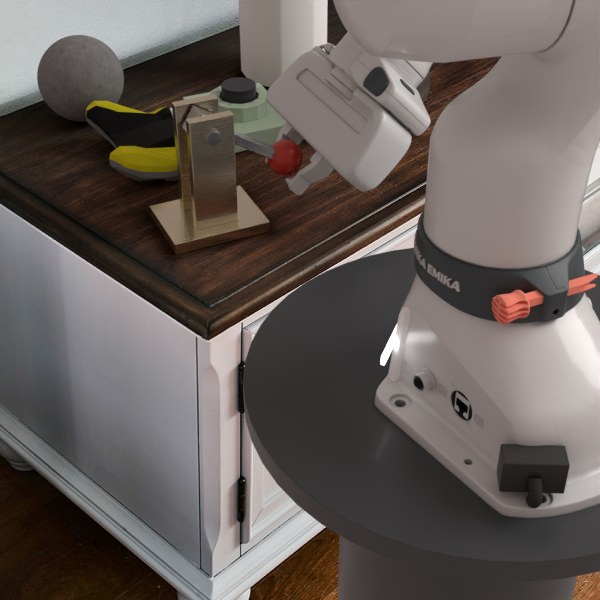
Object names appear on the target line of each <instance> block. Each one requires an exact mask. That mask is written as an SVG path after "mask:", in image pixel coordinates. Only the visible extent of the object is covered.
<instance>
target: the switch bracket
mask: <svg viewBox="0 0 600 600" xmlns="http://www.w3.org/2000/svg"><path fill="white" fill-rule="evenodd" d="M193 105H194V106H196V107H199V108H201V109H204V110H206V111H209V112H211V113H214V114H210V115H205V116H200V117H195V118H190V119H186V118H187V116H188V114H189V112H190V110H191V108H192V106H193ZM171 108H172V111H173V123H174V135H175V147H176V160H177V172H178V179H177V182H178V196H179V199H174V200H170V201H165V202H161V203H155V204H152V205H149V216H150V217H151V219H152V220H153V222H154V223H155V225H156V227H157V228H158V229H159V231H160V233H161V234H162V236H163V237H164V238H165V240H166V242H167V243H168V245H169V246H170V248H171V249H172V251H173V252H174V254H175V255H179V254H180V255H181V254H184V253H188V252H192V251H196V250H201V249H205V248H208V247H212V246H216V245H221V244H226V243H229V242H233V241H238V240H241V239H242V240H243V239H246V238H249V237H253V236H257V235H262V234H266V233H270V232H271V221H270V220H269V218H267V216H266V215H265V213H263V211H262V210H261V209H260V208H259V206H258V205H257V204H256V203H255V201H254V200H253V199H252V198H251V197H250V196H249V194H248V193H247V192H246V190H245V189H244V188H243V187H242V186H241V185H237V163H236V153H235V138H234V116H233V114H232V112H231V111H225V112H220V113H219V106H218V97H217V96H216V95H215V94H212V95H207V96H202V97H197V98H191V99H186V100H183V99H181V100H176V101H172V102H171ZM185 120H186V129H187V132H186V131H185V130H184V129H183V127H182V126H183V124H184V122H185Z"/></svg>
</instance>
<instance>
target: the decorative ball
mask: <svg viewBox="0 0 600 600" xmlns="http://www.w3.org/2000/svg"><path fill="white" fill-rule="evenodd" d="M44 51H45V52H44V53H42V55H41V58H40V60H39V63H38V66H37V72H36V81H37V86H38V90H39V93H40V96H41V97H42V99H43V101H44V103H45V104H46V105H47V106H48V108H50V109H51V110H52V111H53V112H54V113H56V114H57V115H58V116H60V117H62V118H64V119H66V120H69V121H73V122H83V123H85V122H86V123H88V122H87V121H86V109H87V107H88V105H90V104H91V103H92V102H93V101H109V102H112V103H115V104H119V100H121V96H122V95H123V90H124V85H125V75H124V70H123V66H122V64H121V61H120V59H119V57H118V56H117V54H116V53H115V52H114V51H113V50H112V48H111V47H110V46H109V45H107V44H106V43H105V42H103V41H101V40H100V39H98V38H96V37H93V36H89V35H85V34H72V35H68V36H65V37H62V38H60V39H57V40H56V41H55V42H53V43H52V44H50V45H49V46H48V48H47V49H46V50H44Z"/></svg>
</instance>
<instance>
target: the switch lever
mask: <svg viewBox="0 0 600 600" xmlns="http://www.w3.org/2000/svg"><path fill="white" fill-rule="evenodd" d="M210 114H214V113H211V112H209V111H206V110H204V109H201V108H199V107H196V106H194V105H193V106H192V108H191V110H190V112H189V114H188V116H187V118H186V119H190V118H195V117H200V116H205V115H210ZM182 127H183V129H184V130H185V131H186V132H187V129H186V120H185V122H184V124H183V126H182ZM234 138H235V145H237V146H240V147H242V148H245V149H247V150H246V151H250V152H253V153H255V154H258V155H260V156H263V157H265V158H267V161H268V164H269V166H268V168H269V169H271V171H273V173H275V174H277V175H279V176H286V177H287V176H289V175H290V173H291V172H292V171H293V170H294V169H295V170H296V171H297V172H298V171H299V170H300V168H301V167H302V164H303V161H304V159H303V158H304V157H303V152H302V149H301V147H300V146H299V145H297V144H296V143H294V142H293V141H290V140H280V141H277V142H275V143H274V144H273V145H268V144H266V143H263V142H261V141H258V140H256V139H253V138H251V137H248V136H246V135H243V134H241V133H238V132H236V131H234Z"/></svg>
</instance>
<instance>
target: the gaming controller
mask: <svg viewBox="0 0 600 600" xmlns="http://www.w3.org/2000/svg"><path fill="white" fill-rule="evenodd" d="M86 121H87V122H86V123H88V125H90V126H91V127H92V128H93V129H94V130H96V132H98V134H100V136H102V137H103V138H105V140H107V142H109V143H110V144H111V145H112V146H113V147H114V148H115V149H114V150H113V151H111V152H110V154H109V158H108V160H109V162H108V163H109V166H110V167H111V168H113V169H114V170H116V171H117V172H119V173H120V174H121V175H123V176H124V177H127V178H128V179H132V180H134V181H137V182H148V181H155V180H164V181H165V182H167V181H168V182H169V181H171V182H172V181H178V172H177V160H176V147H175V135H174V123H173V111H172V107H169V106H163V107H159V108H157V109H156V110H154V111H150V112H144V111H142V110H138V109H135V108H131V107H129V106H125V105H121V104H119V103H117V104H115V103H112V102H109V101H93V102H92V103H91V104H90V105H88V107H87V109H86Z"/></svg>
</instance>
